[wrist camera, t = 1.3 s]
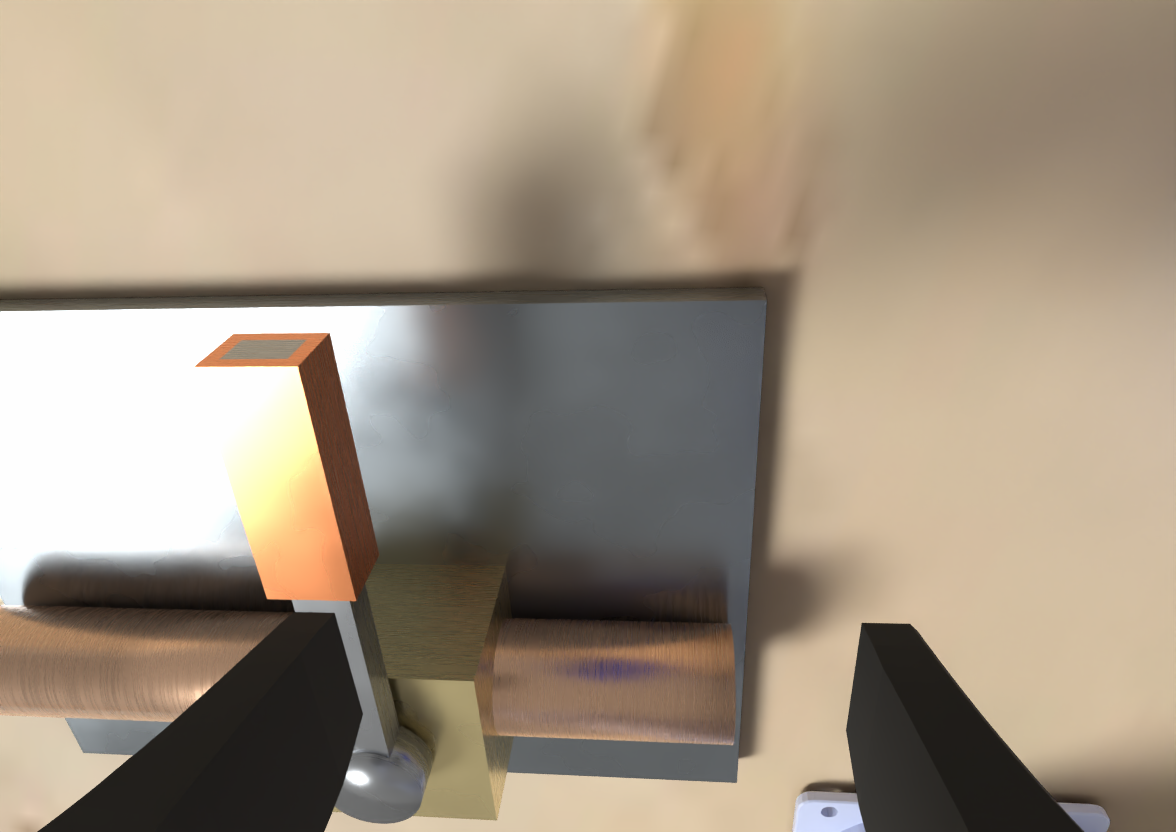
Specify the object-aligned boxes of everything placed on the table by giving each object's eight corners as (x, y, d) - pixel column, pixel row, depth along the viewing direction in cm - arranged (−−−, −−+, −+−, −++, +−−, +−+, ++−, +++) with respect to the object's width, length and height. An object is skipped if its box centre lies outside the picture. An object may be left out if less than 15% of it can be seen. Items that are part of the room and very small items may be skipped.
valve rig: (763, 287, 18) (791, 383, 14) (734, 760, 26) (747, 914, 21) (-123, 302, 20) (-330, 388, 16) (98, 733, 28) (-3, 867, 24)
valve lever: (441, 781, 20) (426, 834, 19) (349, 777, 20) (328, 828, 19) (345, 331, 14) (314, 366, 13) (218, 333, 14) (175, 367, 13)
